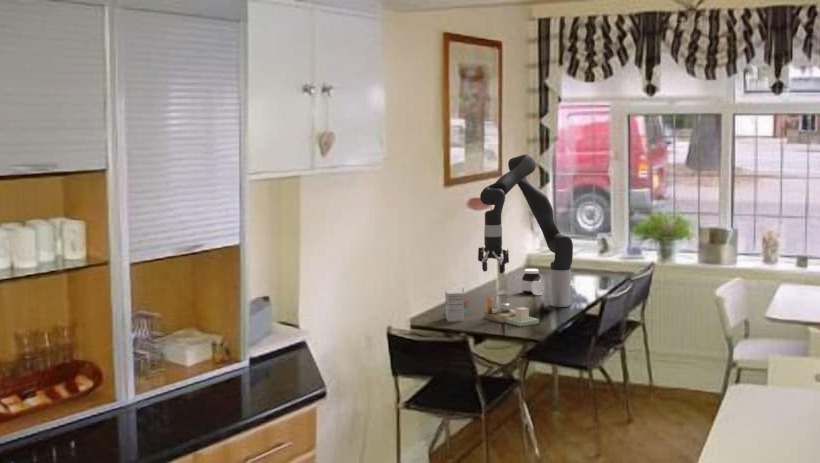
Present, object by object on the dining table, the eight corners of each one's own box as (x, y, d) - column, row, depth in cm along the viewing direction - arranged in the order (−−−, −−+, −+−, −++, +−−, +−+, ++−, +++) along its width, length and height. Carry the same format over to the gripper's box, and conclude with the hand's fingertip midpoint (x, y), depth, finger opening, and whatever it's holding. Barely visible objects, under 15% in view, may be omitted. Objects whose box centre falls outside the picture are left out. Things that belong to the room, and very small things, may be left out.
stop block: (522, 320, 426) (522, 306, 425) (528, 322, 422) (528, 308, 422) (515, 321, 424) (515, 308, 423) (521, 323, 420) (521, 309, 419)
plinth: (507, 313, 442) (507, 306, 442) (525, 318, 431) (525, 311, 431) (484, 317, 435) (484, 310, 435) (502, 323, 424) (502, 315, 424)
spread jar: (529, 290, 494) (529, 267, 493) (549, 292, 488) (549, 269, 486) (517, 294, 484) (517, 271, 483) (538, 296, 478) (538, 273, 476)
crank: (505, 309, 436) (505, 293, 435) (512, 310, 432) (512, 295, 431) (483, 313, 429) (483, 297, 428) (491, 315, 425) (491, 299, 424)
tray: (523, 319, 430) (523, 315, 430) (538, 323, 422) (538, 319, 421) (505, 322, 425) (505, 318, 424) (520, 327, 416) (520, 322, 416)
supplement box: (445, 318, 436) (444, 290, 434) (461, 317, 437) (461, 289, 435) (447, 321, 429) (446, 293, 427) (464, 321, 429) (463, 292, 428)
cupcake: (471, 311, 448) (470, 286, 446) (466, 315, 440) (465, 289, 438) (453, 310, 450) (452, 285, 449) (447, 314, 443) (447, 288, 441)
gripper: (511, 235, 420) (512, 272, 422) (484, 232, 428) (484, 269, 430) (502, 237, 414) (502, 275, 416) (474, 234, 422) (474, 271, 425)
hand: (493, 272), depth 423 cm, fingers open, 8 cm apart
